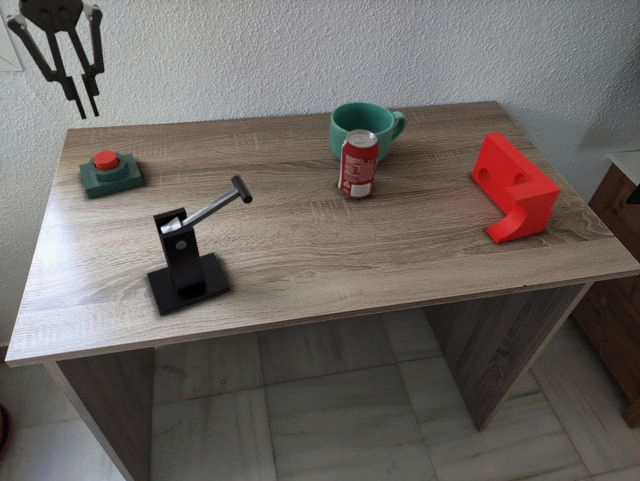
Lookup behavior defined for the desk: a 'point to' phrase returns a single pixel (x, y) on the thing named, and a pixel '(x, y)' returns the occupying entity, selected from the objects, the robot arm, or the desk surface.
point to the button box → (110, 176)
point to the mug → (365, 125)
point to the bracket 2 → (514, 189)
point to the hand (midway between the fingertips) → (89, 113)
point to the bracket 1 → (184, 268)
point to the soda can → (358, 163)
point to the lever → (212, 206)
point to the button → (106, 160)
